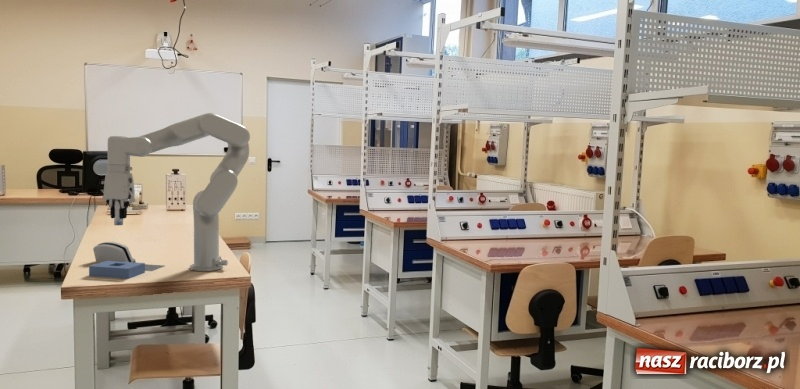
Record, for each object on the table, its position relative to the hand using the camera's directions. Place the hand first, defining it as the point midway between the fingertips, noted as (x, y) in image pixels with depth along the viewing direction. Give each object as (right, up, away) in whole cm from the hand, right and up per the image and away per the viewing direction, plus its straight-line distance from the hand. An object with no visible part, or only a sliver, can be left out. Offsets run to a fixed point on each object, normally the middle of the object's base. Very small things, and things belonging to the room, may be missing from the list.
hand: (118, 217), depth 214 cm
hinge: (-12, -20, +21) cm, 31 cm away
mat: (+3, -21, +13) cm, 25 cm away
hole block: (-1, -22, +1) cm, 22 cm away
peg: (0, -3, 0) cm, 3 cm away
